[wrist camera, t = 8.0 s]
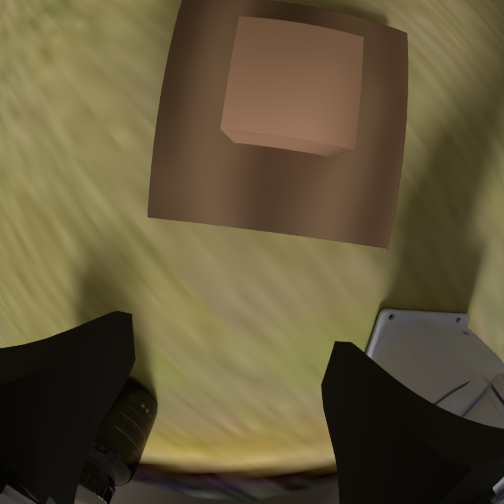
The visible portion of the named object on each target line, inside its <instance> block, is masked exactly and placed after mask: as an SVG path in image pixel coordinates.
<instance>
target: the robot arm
mask: <svg viewBox="0 0 504 504" xmlns="http://www.w3.org/2000/svg"><path fill="white" fill-rule="evenodd" d="M391 314H393V316H392V317H391V318H389V316H390V315H391ZM457 318H458V319H457ZM456 319H457V320H456ZM469 319H470V317H469V315H468V314H466V313H444V312H426V311H410V310H396V309H383V310H381V312H380V313H379V315H378V318H377V322H376V325H375V328H374V331H373V334H372V337H371V340H370V343H369V346H368V349H367V351H366V354H365V353H364V352H363V351H362V350H361V349H359V348H358V347H357V346H356V345H354V344H353V343H352V342H339V341H335V343H334V346H333V350H332V353H331V356H330V360H329V363H328V366H327V369H326V372H325V375H324V378H323V381H322V384H321V388H322V400H323V408H324V413H325V417H326V421H327V425H328V430H329V434H330V438H331V442H332V446H333V450H334V454H335V459H336V465H337V474H338V485H339V503H340V504H504V363H503V362H502V360H501V359H500V358H499V356H498V355H496V354H495V353H494V352H493V351H492V350H491V349H490V348H489V347H488V346H487V345H486V344H485V343H484V342H483V341H482V340H481V339H480V338H479V337H478V336H477V335H476V334H474V333H473V332H472V331H471V330H470V329H469V328H468V327H467V325H468V322H469ZM135 360H136V359H135V349H134V338H133V325H132V314H130V313H125V312H120V311H115V312H111V313H109V314H106V315H104V316H101V317H99V318H96V319H94V320H92V321H89V322H87V323H85V324H82V325H80V326H78V327H75V328H73V329H70V330H68V331H65V332H62V333H60V334H57V335H54V336H52V337H49V338H46V339H42V340H39V341H35V342H31V343H28V344H23V345H18V346H12V347H6V348H0V504H74V501H75V496H76V492H77V488H78V484H79V481H80V477H81V474H82V470H83V467H84V464H85V461H86V459H87V456H88V453H89V450H90V448H91V445H92V443H93V440H94V438H95V435H96V433H97V431H98V429H99V427H100V425H101V423H102V421H103V420H104V418H105V416H106V415H107V413H108V411H109V410H110V408H111V406H112V405H113V403H114V401H115V400H116V398H117V396H118V395H119V393H120V391H121V390H122V388H123V386H124V384H125V383H126V381H127V379H128V377H129V374H130V372H131V370H132V367H133V365H134V362H135Z"/></svg>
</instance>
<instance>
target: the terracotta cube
mask: <svg viewBox="0 0 504 504" xmlns="http://www.w3.org/2000/svg"><path fill="white" fill-rule="evenodd" d="M363 42H364V37H361V36H358V35H354V34H350V33H346V32H342V31H338V30H334V29H329V28H325V27H320V26H314V25H309V24H303V23H297V22H291V21H283V20H275V19H266V18H255V17H241V16H239V20H238V25H237V30H236V35H235V41H234V46H233V52H232V58H231V63H230V69H229V75H228V82H227V88H226V94H225V101H224V107H223V114H222V121H221V128H220V129H221V130H222V131H223V132H224V133H225V134H226V135H227V136H228V137H229V138H230V139H231V140H232V141H233V142H234V143H243V144H251V145H259V146H267V147H274V148H281V149H288V150H294V151H300V152H306V153H312V154H317V155H323V156H331V155H335V154H339V153H343V152H347V151H352V150H355V144H356V135H357V126H358V117H359V106H360V95H361V81H362V65H363Z"/></svg>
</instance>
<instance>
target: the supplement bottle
mask: <svg viewBox="0 0 504 504" xmlns="http://www.w3.org/2000/svg"><path fill="white" fill-rule="evenodd" d="M156 415H157V406H156V403H155V400H154V398H153V397H152V395H151V394H150V393H149V391H148V390H147V389H146V388H145V387H143V386H142V385H141V384H140V383H138V382H137V381H135V380H133V379H131V378H129V377H128V379H127V381H126V383H125V384H124V386H123V388H122V390H121V391H120V393H119V395H118V396H117V398H116V400H115V401H114V403H113V405H112V406H111V408H110V410H109V411H108V413H107V415H106V416H105V418H104V420H103V421H102V423H101V425H100V427H99V429H98V431H97V433H96V435H95V438H94V440H93V443H92V445H91V448H90V450H89V453H88V456H87V459H86V461H85V464H84V467H83V470H82V474H81V477H80V481H79V484H78V488H77V492H76V496H75V498H76V499H78V500H80V501H82V502H84V503H86V504H110V501H111V499H112V496H113V495H114V493H115V487H114V486H123V485H125V484H127V483H129V482H130V481H131V480H132V479H133V477H134V475H135V473H136V470H137V467H138V464H139V462H140V459H141V456H142V453H143V451H144V448H145V445H146V443H147V440H148V437H149V435H150V432H151V429H152V427H153V424H154V421H155V418H156Z"/></svg>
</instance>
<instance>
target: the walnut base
mask: <svg viewBox="0 0 504 504" xmlns="http://www.w3.org/2000/svg"><path fill="white" fill-rule="evenodd" d="M239 16H241V17H255V18H266V19H275V20H283V21H291V22H297V23H303V24H309V25H314V26H320V27H325V28H329V29H334V30H338V31H342V32H346V33H350V34H354V35H358V36H361V37H364V42H363V65H362V81H361V95H360V106H359V117H358V126H357V135H356V144H355V150H352V151H347V152H343V153H339V154H335V155H331V156H323V155H317V154H312V153H306V152H300V151H294V150H288V149H281V148H274V147H267V146H259V145H251V144H243V143H234V142H233V141H232V140H231V139H230V138H229V137H228V136H227V135H226V134H225V133H224V132H223V131H222V130H221V129H220V128H221V121H222V114H223V107H224V101H225V94H226V88H227V82H228V75H229V69H230V63H231V58H232V52H233V46H234V41H235V35H236V30H237V25H238V20H239ZM407 100H408V40H407V33H406V32H403V31H400V30H398V29H395V28H392V27H389V26H386V25H383V24H380V23H377V22H374V21H370V20H367V19H363V18H360V17H356V16H352V15H348V14H344V13H340V12H336V11H331V10H326V9H321V8H316V7H311V6H305V5H298V4H292V3H284V2H275V1H265V0H182V2H181V6H180V9H179V13H178V17H177V21H176V24H175V28H174V33H173V37H172V41H171V46H170V50H169V55H168V59H167V64H166V69H165V75H164V80H163V85H162V91H161V97H160V103H159V110H158V116H157V123H156V131H155V139H154V147H153V156H152V166H151V176H150V188H149V202H148V217H149V218H159V219H168V220H177V221H185V222H194V223H203V224H211V225H219V226H227V227H235V228H243V229H251V230H259V231H267V232H274V233H282V234H289V235H297V236H304V237H311V238H318V239H326V240H333V241H339V242H346V243H353V244H360V245H367V246H373V247H380V248H386V249H388V245H389V241H390V236H391V231H392V226H393V221H394V215H395V210H396V204H397V198H398V191H399V185H400V178H401V170H402V162H403V153H404V143H405V132H406V119H407Z"/></svg>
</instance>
